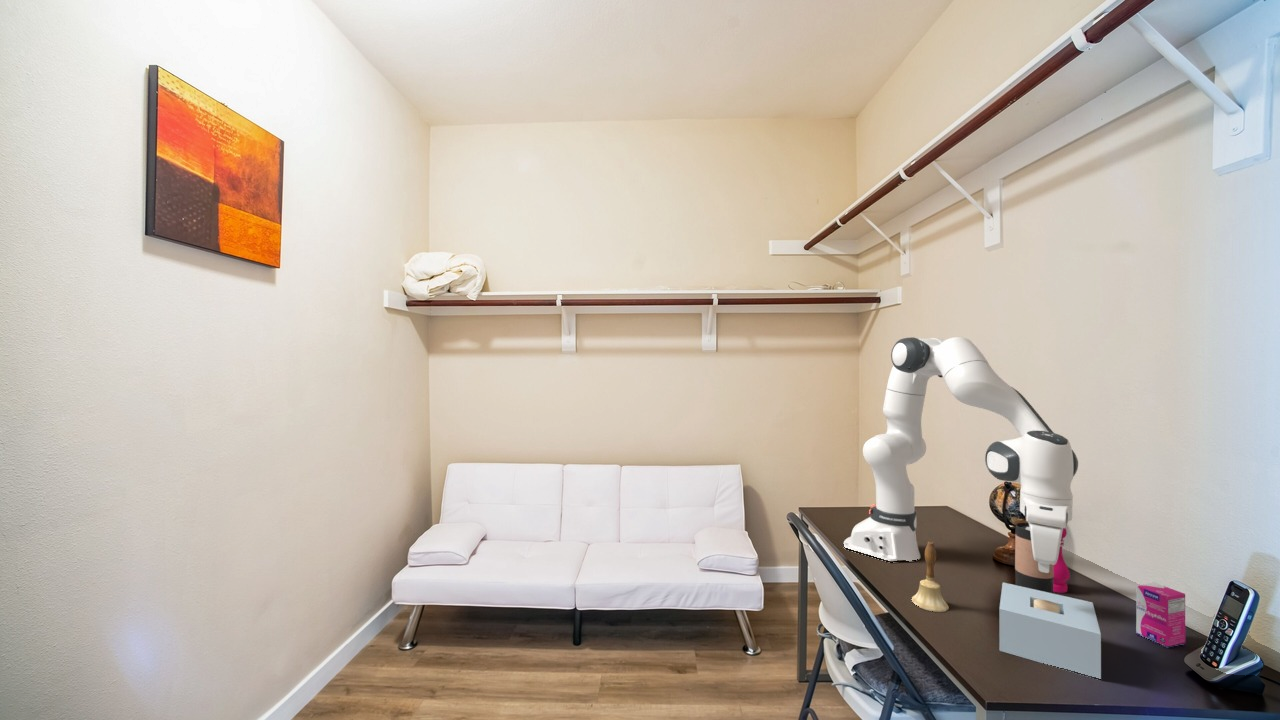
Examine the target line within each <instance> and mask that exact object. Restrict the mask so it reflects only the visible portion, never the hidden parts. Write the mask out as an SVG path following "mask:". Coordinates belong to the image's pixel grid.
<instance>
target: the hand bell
mask: <svg viewBox="0 0 1280 720" xmlns="http://www.w3.org/2000/svg"><path fill="white" fill-rule="evenodd" d="M924 559H925V564H926V575H925V579H922V580H920V581H919V586H918V590H917V592H916V594H914V595H913V596H912V597H911V598H912V599H910V601H911V600H912V601H911V602H913V603H914V604H915V606H916V605H917V606H916V607H918V606H919V607H918V608H920V609H922V610H925V611H928V612H932V611H933V613H945V612H948V611H949V609H950V608H949V607H950V606H949V604H948V603H947V602H946V601H945V600H944V598H943V596H942V591H941V585H940V584H939V583H938V582H937V581H935V580H934V579H935V578H934V577H935V569H934V568H935V565H936V561H937V550H936V547H935V543H934V542H933V541H931V540H929V541H927V545H926V546H925V550H924ZM913 603H912V604H913ZM914 604H913V605H914Z"/></svg>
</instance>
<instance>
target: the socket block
mask: <svg viewBox="0 0 1280 720" xmlns="http://www.w3.org/2000/svg"><path fill="white" fill-rule="evenodd" d="M1036 599H1042V600H1047V601H1051V602H1053V603H1056V604H1057V605H1059V606H1060V614H1058V613H1054V612H1050V611H1046V610H1042V609H1038V608H1034V600H1036ZM999 600H1000V602H999V613H998V614H999V622H998V624H999V627H998V628H999V636H998V638H999V648H998V649H999V650H998V651H1000V652H1003V653H1007V654H1009V655H1014V656H1017V657H1020V658H1023V659H1027V660H1031V661H1034V662H1038V663H1040V664H1043V663H1044V665H1047V664H1048V666H1050V665H1052V666H1051V667H1053V666H1056V667H1055V668H1057V667H1059V668H1058V669H1060V668H1064V669H1068V670H1071V671H1075V672H1078V673H1081V674H1085V675H1088V676H1092V677H1096V678H1099V679H1101V680H1102V643H1101V642H1102V634H1101V629H1100V625H1099V623H1098V618H1097V615H1096V614H1097V613H1096V610H1095V607H1094V603H1093V601H1088V600H1083V599H1080V598H1079V599H1078V598H1073V597H1070V596H1065V595H1062V594H1056V593H1053V594H1052V593H1048V592H1044V591H1039V590H1035V589H1030V588H1026V587H1021V586H1017V585H1016V584H1012V583H1007V582H1002V584H1001V594H1000V599H999ZM1064 669H1063V670H1064ZM1071 671H1070V672H1071ZM1081 674H1080V675H1081ZM1088 676H1087V677H1088Z"/></svg>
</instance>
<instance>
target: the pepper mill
mask: <svg viewBox="0 0 1280 720" xmlns="http://www.w3.org/2000/svg"><path fill="white" fill-rule="evenodd" d="M1067 534H1068V533H1067V527H1066V528H1063V531H1062V537H1061V543H1060V549H1059V555H1058V560H1057V563H1056V564H1055V565H1054V582H1053V593H1058V594H1059V593H1061V594H1064V593H1065V594H1066V593H1067V592H1068V583H1067V581H1069V579H1070V578H1071V577H1070V570H1069V568H1068V565H1067V563H1066V561H1065V560H1064V556H1063V547H1064V546H1065V544H1064V543H1065V540H1064V539H1065V537H1066V536H1067Z"/></svg>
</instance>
